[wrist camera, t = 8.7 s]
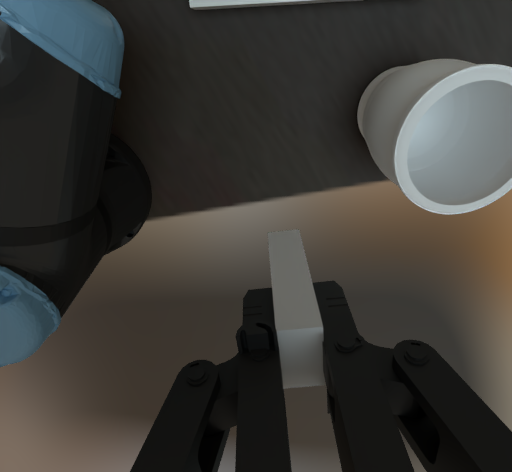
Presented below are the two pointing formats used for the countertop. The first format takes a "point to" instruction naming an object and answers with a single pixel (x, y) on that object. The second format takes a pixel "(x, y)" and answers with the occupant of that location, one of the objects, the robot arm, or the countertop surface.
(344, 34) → the countertop surface
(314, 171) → the countertop surface
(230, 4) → the button board
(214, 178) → the countertop surface
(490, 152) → the jar
